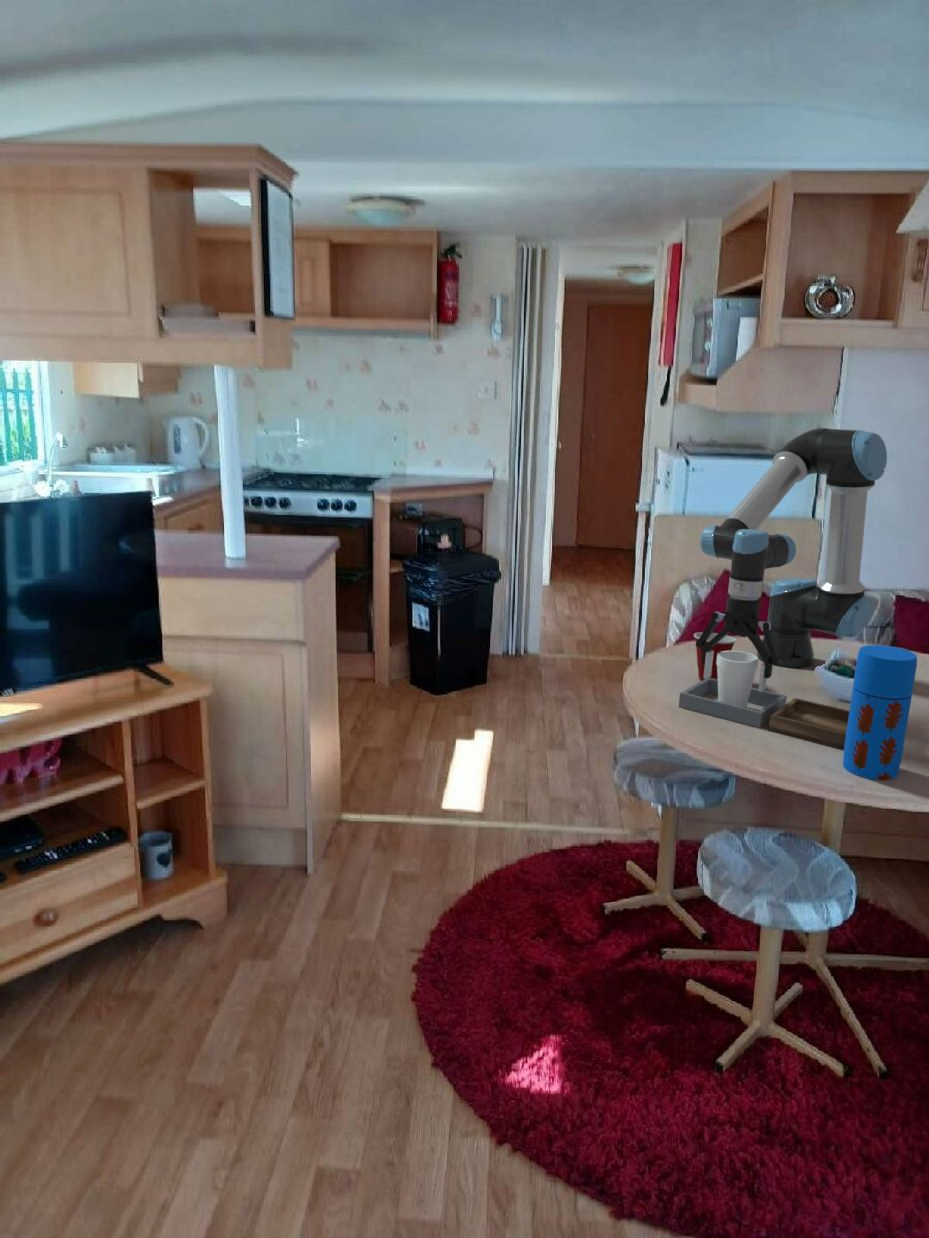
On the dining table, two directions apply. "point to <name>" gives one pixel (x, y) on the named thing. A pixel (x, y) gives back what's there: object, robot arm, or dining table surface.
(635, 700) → the dining table surface
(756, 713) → the bin
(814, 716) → the bin
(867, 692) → the thermos
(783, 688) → the dining table surface
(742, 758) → the dining table surface
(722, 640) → the plastic cup
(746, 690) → the foam cup
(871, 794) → the dining table surface
